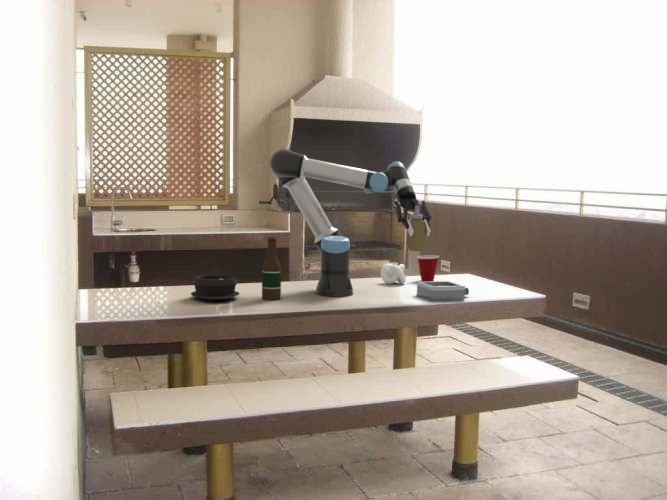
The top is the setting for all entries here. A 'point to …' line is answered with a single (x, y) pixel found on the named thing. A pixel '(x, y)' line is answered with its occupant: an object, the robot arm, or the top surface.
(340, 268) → the robot arm
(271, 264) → the beer bottle
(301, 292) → the top surface
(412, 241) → the squeeze bottle
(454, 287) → the box
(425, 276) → the plastic cup
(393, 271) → the white plush toy
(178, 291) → the top surface
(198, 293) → the casserole
